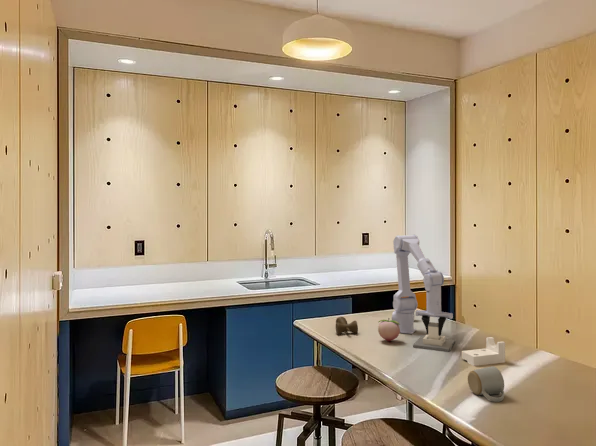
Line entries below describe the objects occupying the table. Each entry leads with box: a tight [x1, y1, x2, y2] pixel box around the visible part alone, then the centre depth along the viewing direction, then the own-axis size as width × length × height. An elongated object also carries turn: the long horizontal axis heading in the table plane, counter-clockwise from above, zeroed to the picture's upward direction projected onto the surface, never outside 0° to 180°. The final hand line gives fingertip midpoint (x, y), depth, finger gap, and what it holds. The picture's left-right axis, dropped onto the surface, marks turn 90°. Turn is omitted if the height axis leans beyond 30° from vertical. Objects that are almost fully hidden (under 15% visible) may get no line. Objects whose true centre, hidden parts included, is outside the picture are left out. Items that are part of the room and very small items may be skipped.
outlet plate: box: [412, 333, 456, 353], centre depth 189 cm, size 14×14×3 cm
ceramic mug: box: [467, 366, 505, 403], centre depth 137 cm, size 11×8×8 cm
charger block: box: [428, 321, 440, 340], centre depth 189 cm, size 4×4×6 cm
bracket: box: [461, 336, 506, 367], centre depth 168 cm, size 13×7×8 cm, turn 104°
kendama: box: [335, 316, 359, 336], centre depth 212 cm, size 6×10×20 cm
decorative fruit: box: [377, 317, 401, 342], centre depth 195 cm, size 9×8×10 cm
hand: (434, 334), depth 189 cm, fingers closed on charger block, 4 cm apart
